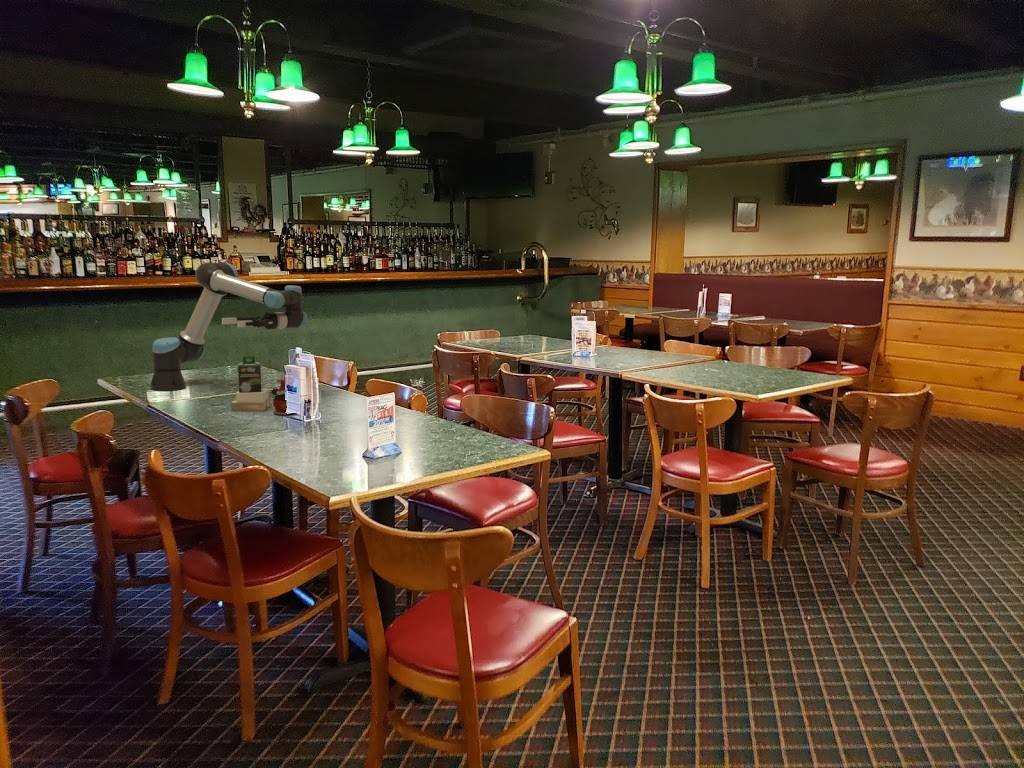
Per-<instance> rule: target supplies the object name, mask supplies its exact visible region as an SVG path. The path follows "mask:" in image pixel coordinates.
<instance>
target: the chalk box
mask: <svg viewBox="0 0 1024 768" xmlns="http://www.w3.org/2000/svg"><path fill="white" fill-rule="evenodd" d="M248 359H249V361H247V360H248ZM236 365H237V380H238V381H237V382H238V383H237V384H238V391H239V393H240V392H261V391H262V390H261V388H262V367H261V366H262V365H261V363H260V361H256V357H255V355H244V356H243V357H242V361H241V362H237V364H236Z"/></svg>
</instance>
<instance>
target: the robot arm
mask: <svg viewBox="0 0 1024 768" xmlns="http://www.w3.org/2000/svg"><path fill="white" fill-rule="evenodd" d="M194 274H195V275H194V277H195V280H196V282H197V283H198V285H200V286H201V287H203V290H202V292H201V294H200V296H199V298H198V301H197V303H196V305H195V307H194V310H193V311H192V315H191V317H190V318H189V320H188V323H187V325H186V327H185V329H184V330H182V331H180V332H179V335H178V337H174V336H173V337H172V336H171V337H162V338H157V339H156V340H154V341H153V342H152V349H151V351H152V363H153V374H152V377H151V381H150V385H149V387H150V390H152V391H156V392H157V391H158V392H160V391H161V392H168V391H169V392H170V391H171V392H172V391H180V390H184V389H186V384H187V383H186V380H185V378H184V375H183V373H182V366H181V365H182V364H186V363H193V362H197V361H199V360H200V359H202V358H203V357H204V354H205V352H206V347H205V338H204V335H205V334H206V333H207V329H208V327H209V326H210V323H211V322H212V319H213V316H214V314H215V312H216V310H217V308H218V306H219V305H220V302H221V299H222V297H224V296H226V295H228V293H229V294H232V295H235V296H238V297H242V298H245V299H247V300H248V299H249V300H251V301H255V302H258V303H260V304H263V305H265V306H266V307H267V308H269V309H275V310H278V309H283V308H284V311H275V312H266V313H264V314H263V316H248V317H247V316H245V317H244V316H243V317H242V316H241V317H240V316H235V317H222V318H221V325H236V326H237V328H252V327H254V328H262V327H264V328H265V329H266V330H278V329H279V331H281V330H282V329H299V328H300V329H301V328H305V327H306V326H307V324H308V322H309V321H308V320H309V318H308V315H307V312H306V311H303V292H302V287H301V285H300V286H299V285H286V286H284V290H277V289H274V288H271V287H267V286H265V285H261V284H258V283H255V282H252V281H248V280H246V279H242V278H239V273H238V270H237V268H236V267H235V266H234V265H233V264H231V263H229V262H224V261H222V262H204V263H201V264H200V265H199V266H198V267H197V268H196V269H195V273H194Z"/></svg>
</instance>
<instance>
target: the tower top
mask: <svg viewBox="0 0 1024 768" xmlns="http://www.w3.org/2000/svg"><path fill="white" fill-rule="evenodd" d="M261 390H262V391H261V392H240V393H239V390H238V391H237V392H235V394H236V395H235V399H236V402H265V401H266V400H267V398H268V397H269V388H264V387H263V388H262V387H261Z"/></svg>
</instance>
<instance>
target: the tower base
mask: <svg viewBox="0 0 1024 768" xmlns="http://www.w3.org/2000/svg"><path fill="white" fill-rule="evenodd" d="M270 406H271V398H270V397H269V396H268V398H267V400H266V401H265V402H236V398H235V399H234V400H233V401H231V402H230V412H264V411H266V410H267V408H269V407H270Z"/></svg>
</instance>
